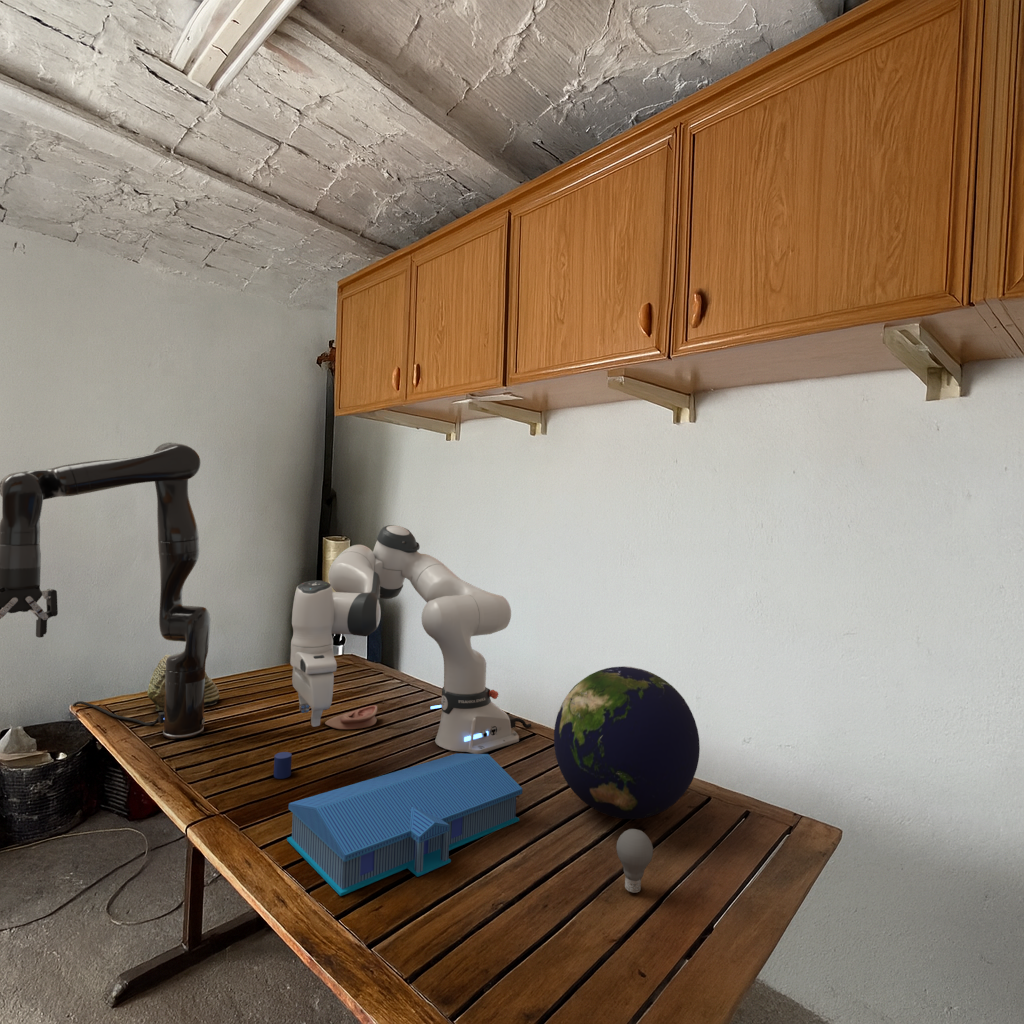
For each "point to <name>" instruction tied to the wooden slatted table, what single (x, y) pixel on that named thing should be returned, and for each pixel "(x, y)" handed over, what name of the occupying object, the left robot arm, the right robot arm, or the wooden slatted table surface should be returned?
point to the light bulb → (634, 857)
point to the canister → (282, 765)
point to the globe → (626, 742)
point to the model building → (402, 819)
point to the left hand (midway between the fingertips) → (16, 639)
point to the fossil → (158, 687)
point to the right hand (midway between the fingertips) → (309, 718)
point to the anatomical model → (354, 719)
